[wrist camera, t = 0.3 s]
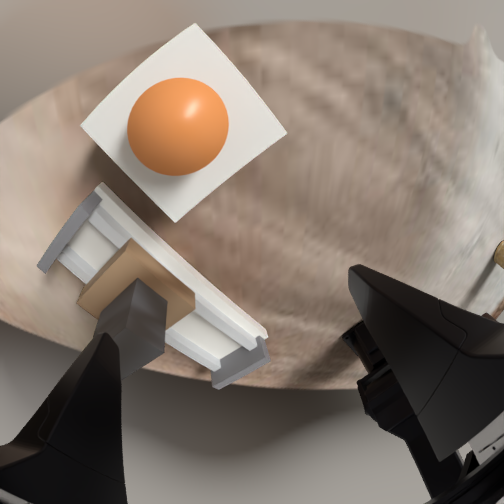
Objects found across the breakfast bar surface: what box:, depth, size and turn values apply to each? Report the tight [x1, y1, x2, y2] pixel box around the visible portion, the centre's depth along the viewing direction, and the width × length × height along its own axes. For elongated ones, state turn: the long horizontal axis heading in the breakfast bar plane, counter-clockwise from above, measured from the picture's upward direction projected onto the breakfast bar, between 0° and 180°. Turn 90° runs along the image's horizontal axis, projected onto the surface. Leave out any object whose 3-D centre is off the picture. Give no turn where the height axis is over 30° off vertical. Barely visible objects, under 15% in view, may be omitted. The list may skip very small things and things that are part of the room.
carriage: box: [77, 238, 196, 380], centre depth 19 cm, size 7×7×7 cm
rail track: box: [37, 181, 271, 389], centre depth 23 cm, size 22×8×4 cm, turn 37°
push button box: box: [80, 23, 287, 223], centre depth 15 cm, size 8×8×6 cm
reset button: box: [127, 78, 229, 176], centre depth 11 cm, size 4×4×2 cm
